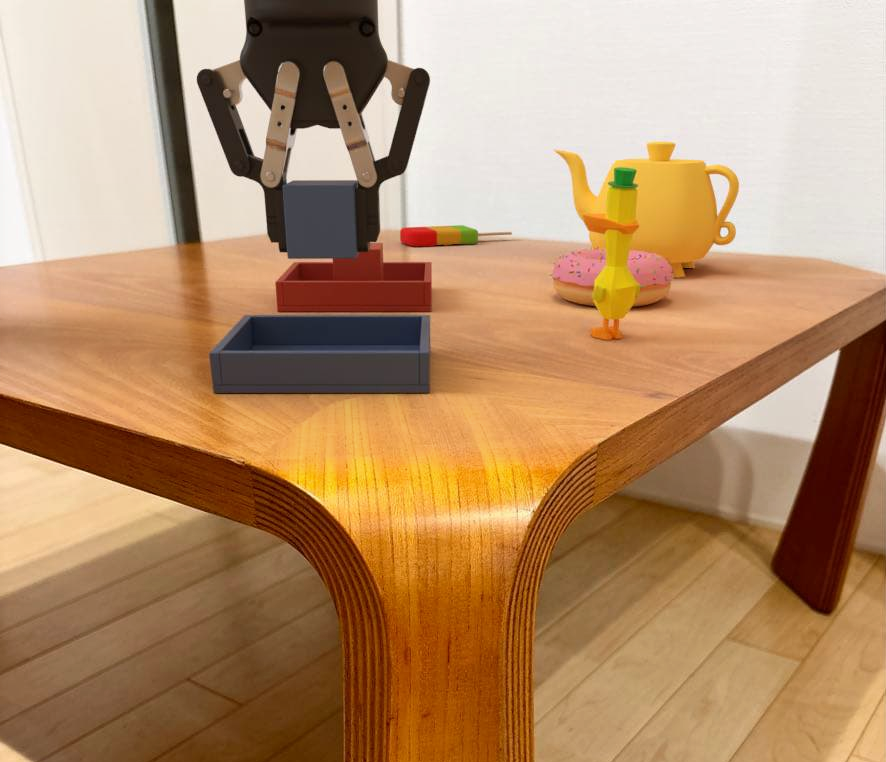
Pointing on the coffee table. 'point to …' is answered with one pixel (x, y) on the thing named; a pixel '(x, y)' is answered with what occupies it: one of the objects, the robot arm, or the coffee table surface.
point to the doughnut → (584, 266)
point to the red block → (361, 266)
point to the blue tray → (324, 354)
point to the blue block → (320, 219)
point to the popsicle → (442, 235)
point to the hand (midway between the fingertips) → (325, 249)
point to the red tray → (355, 289)
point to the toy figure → (615, 253)
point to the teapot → (664, 204)
